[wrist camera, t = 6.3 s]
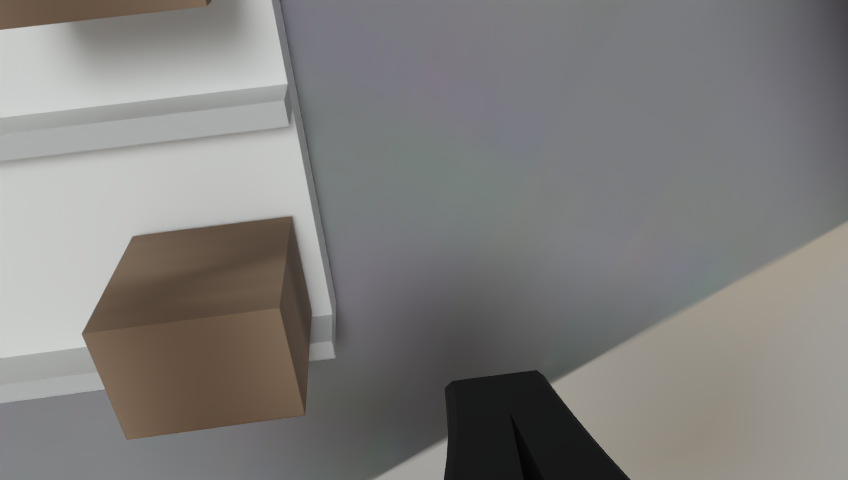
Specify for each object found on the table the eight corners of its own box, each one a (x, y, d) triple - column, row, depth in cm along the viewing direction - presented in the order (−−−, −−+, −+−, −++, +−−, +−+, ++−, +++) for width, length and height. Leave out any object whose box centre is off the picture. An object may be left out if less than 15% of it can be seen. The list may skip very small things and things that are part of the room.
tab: (291, 215, 18) (279, 308, 14) (311, 311, 19) (304, 415, 16) (132, 236, 18) (81, 334, 14) (165, 330, 19) (126, 440, 16)
